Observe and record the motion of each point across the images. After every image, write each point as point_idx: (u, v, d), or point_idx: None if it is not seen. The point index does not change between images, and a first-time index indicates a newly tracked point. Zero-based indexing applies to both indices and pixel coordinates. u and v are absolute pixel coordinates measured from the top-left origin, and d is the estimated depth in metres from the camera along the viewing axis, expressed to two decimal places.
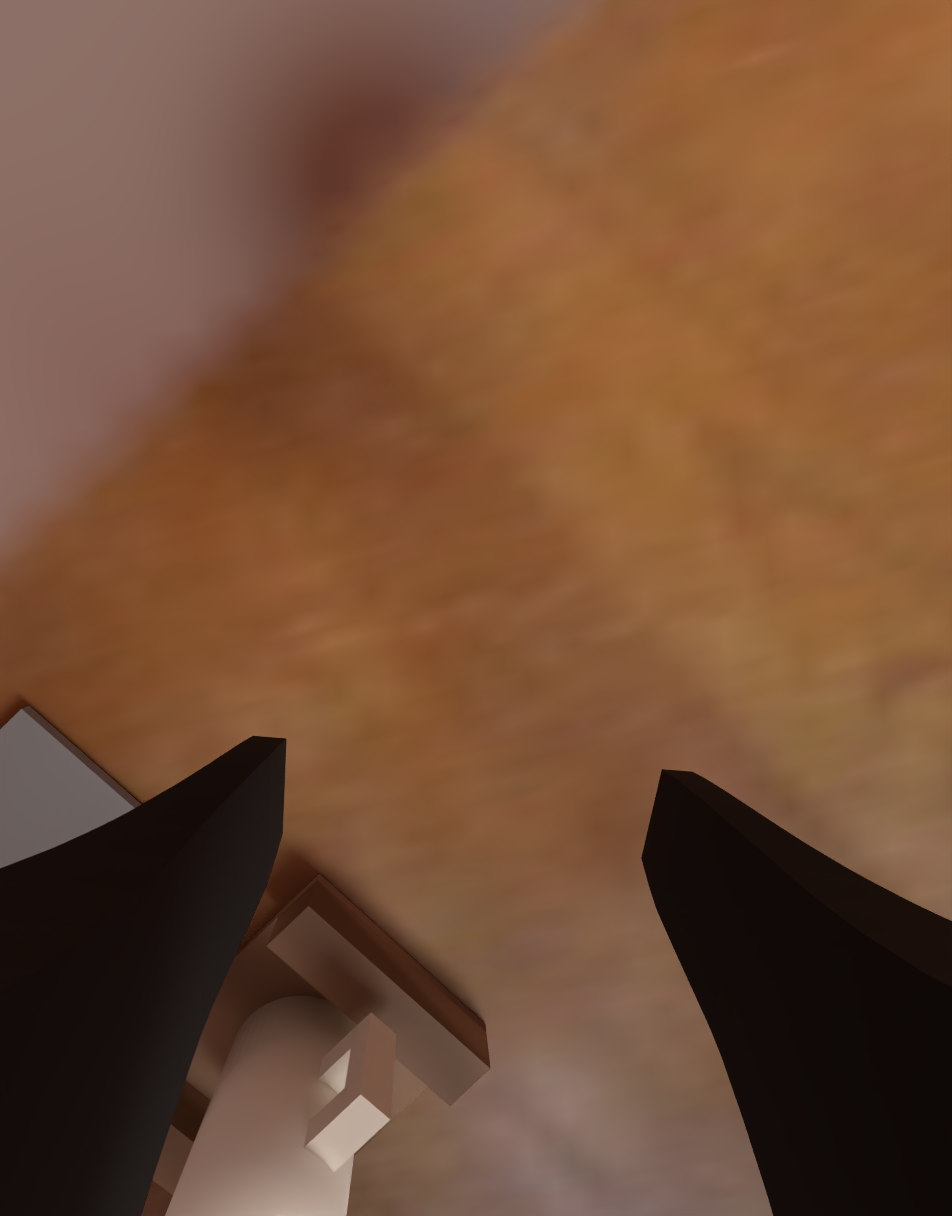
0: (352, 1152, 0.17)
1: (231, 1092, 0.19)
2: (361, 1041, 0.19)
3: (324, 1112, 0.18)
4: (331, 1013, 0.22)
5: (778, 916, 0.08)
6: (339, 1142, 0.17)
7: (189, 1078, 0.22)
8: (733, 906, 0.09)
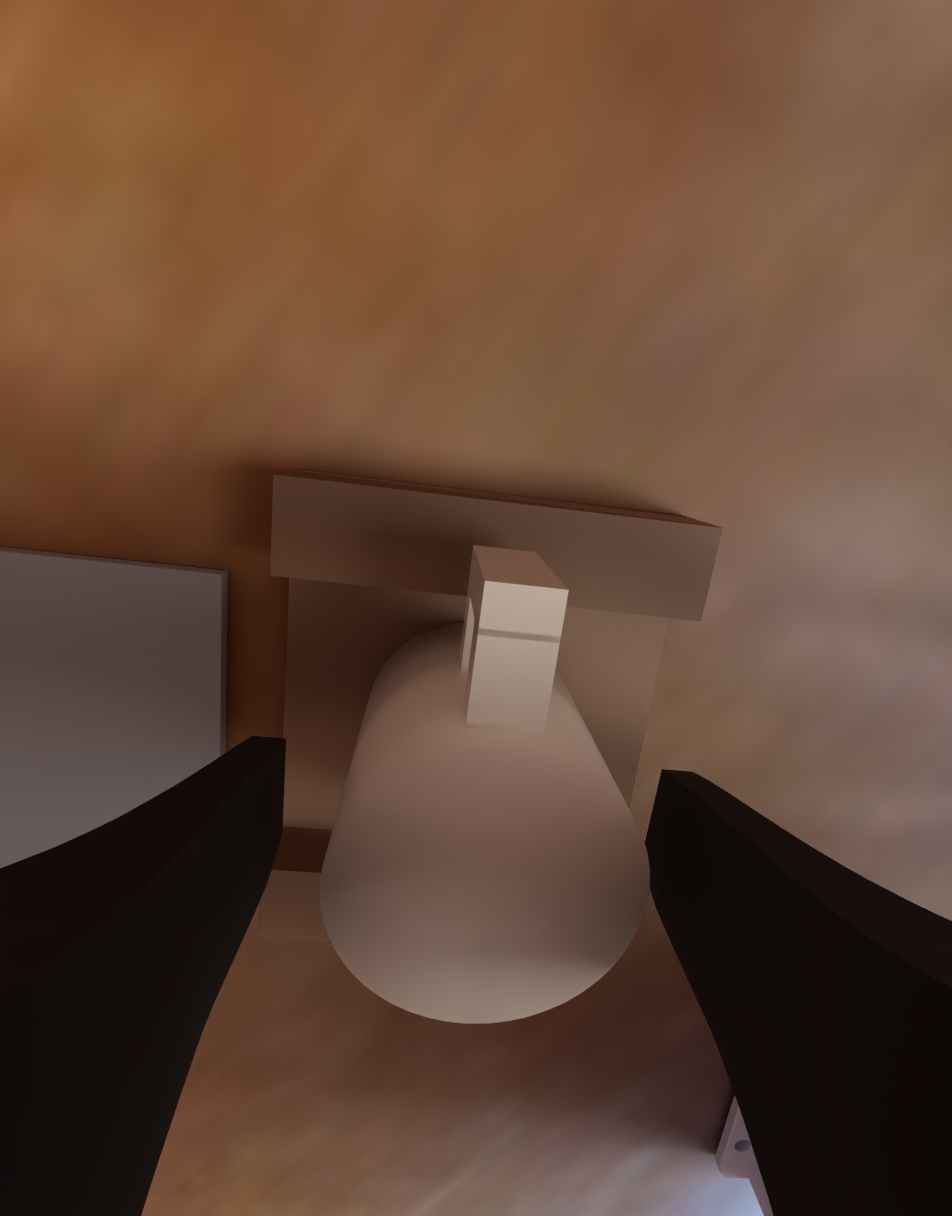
0: (548, 684, 0.09)
1: (351, 764, 0.11)
2: (474, 571, 0.10)
3: (468, 670, 0.09)
4: (456, 629, 0.14)
5: (778, 916, 0.08)
6: (514, 684, 0.09)
7: None
8: (733, 906, 0.09)
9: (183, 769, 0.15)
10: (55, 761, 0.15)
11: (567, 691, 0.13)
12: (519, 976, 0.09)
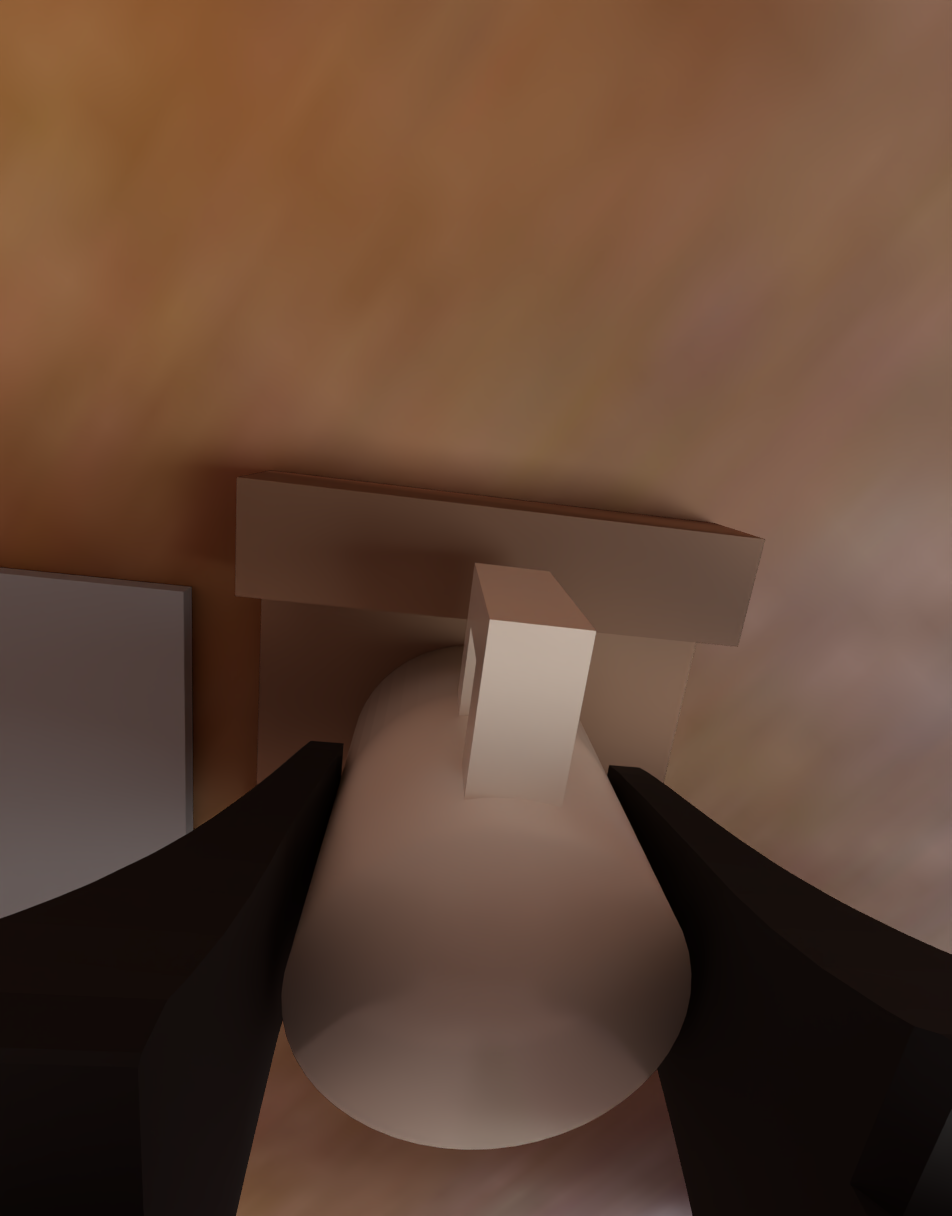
0: (568, 747, 0.07)
1: None
2: (476, 596, 0.09)
3: (469, 724, 0.08)
4: (454, 654, 0.12)
5: (702, 911, 0.08)
6: (526, 746, 0.07)
7: None
8: None
9: (143, 811, 0.13)
10: None
11: (583, 729, 0.11)
12: (528, 1096, 0.08)
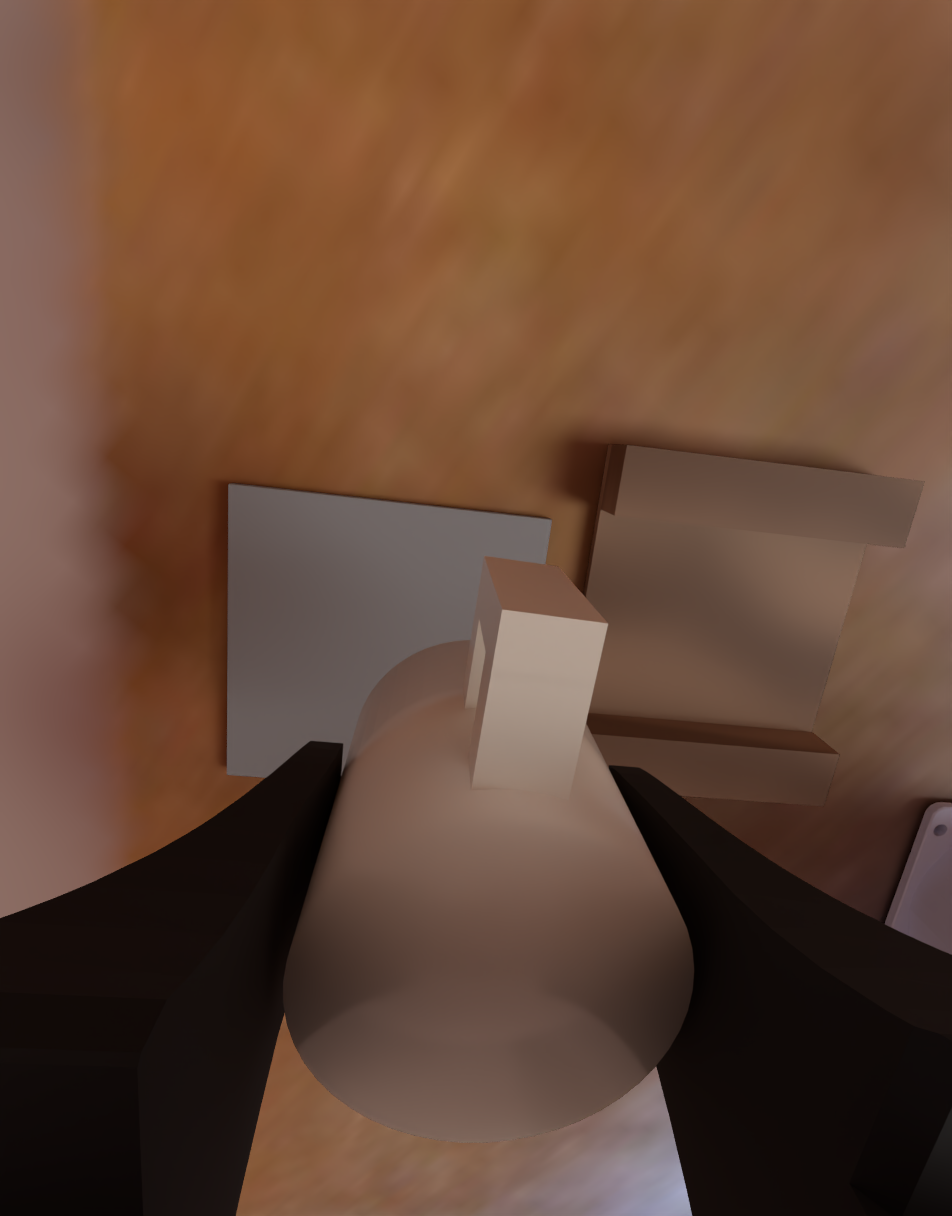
0: (576, 739, 0.07)
1: (330, 813, 0.09)
2: (485, 589, 0.09)
3: (477, 715, 0.08)
4: (459, 649, 0.12)
5: (702, 911, 0.08)
6: (534, 738, 0.07)
7: (627, 712, 0.21)
8: None
9: None
10: None
11: (586, 726, 0.11)
12: (527, 1090, 0.08)
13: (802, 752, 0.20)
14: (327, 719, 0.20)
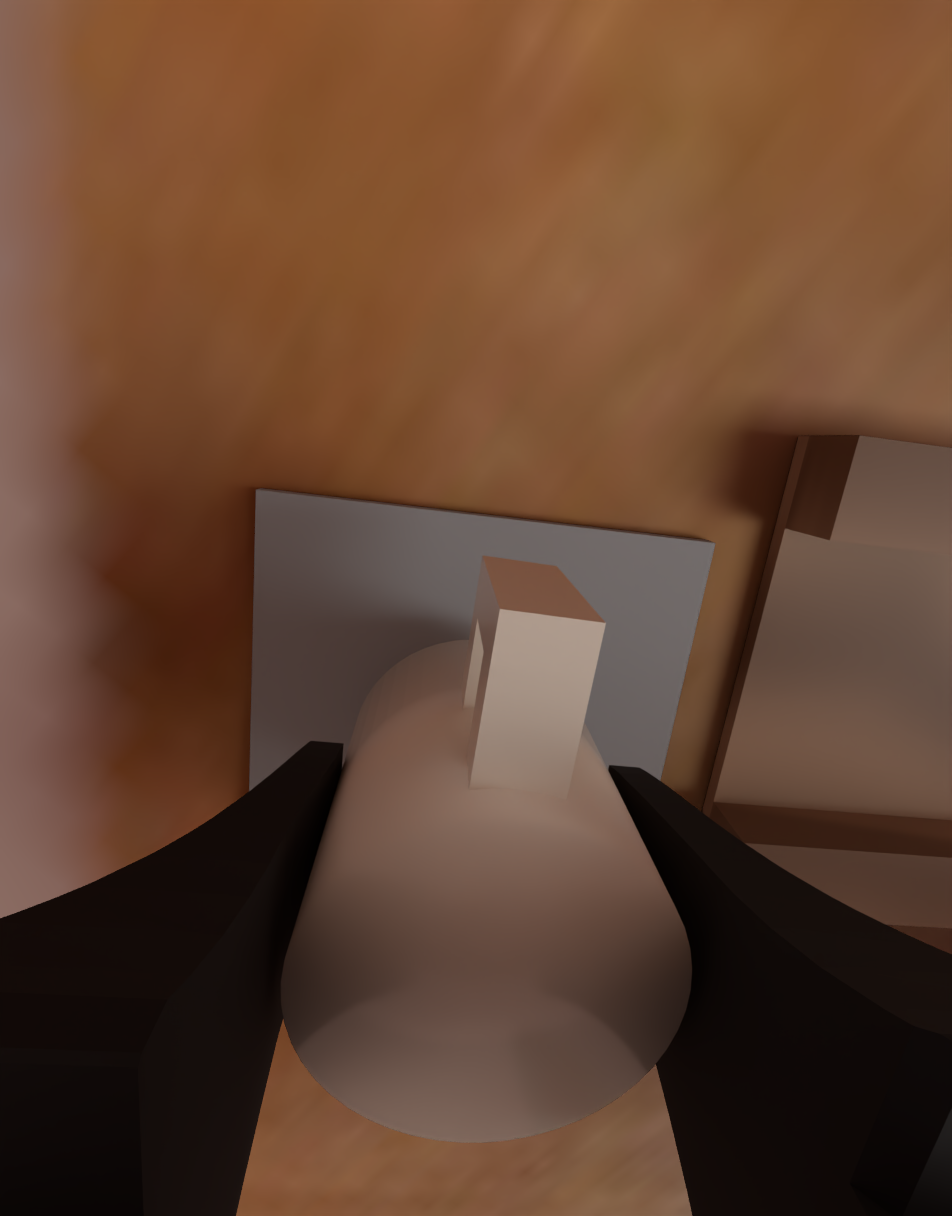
0: (574, 739, 0.07)
1: (329, 813, 0.09)
2: (483, 588, 0.09)
3: (475, 715, 0.08)
4: (458, 648, 0.12)
5: (702, 911, 0.08)
6: (533, 737, 0.07)
7: (795, 803, 0.15)
8: None
9: (633, 743, 0.15)
10: None
11: (585, 726, 0.11)
12: (525, 1090, 0.08)
13: None
14: None
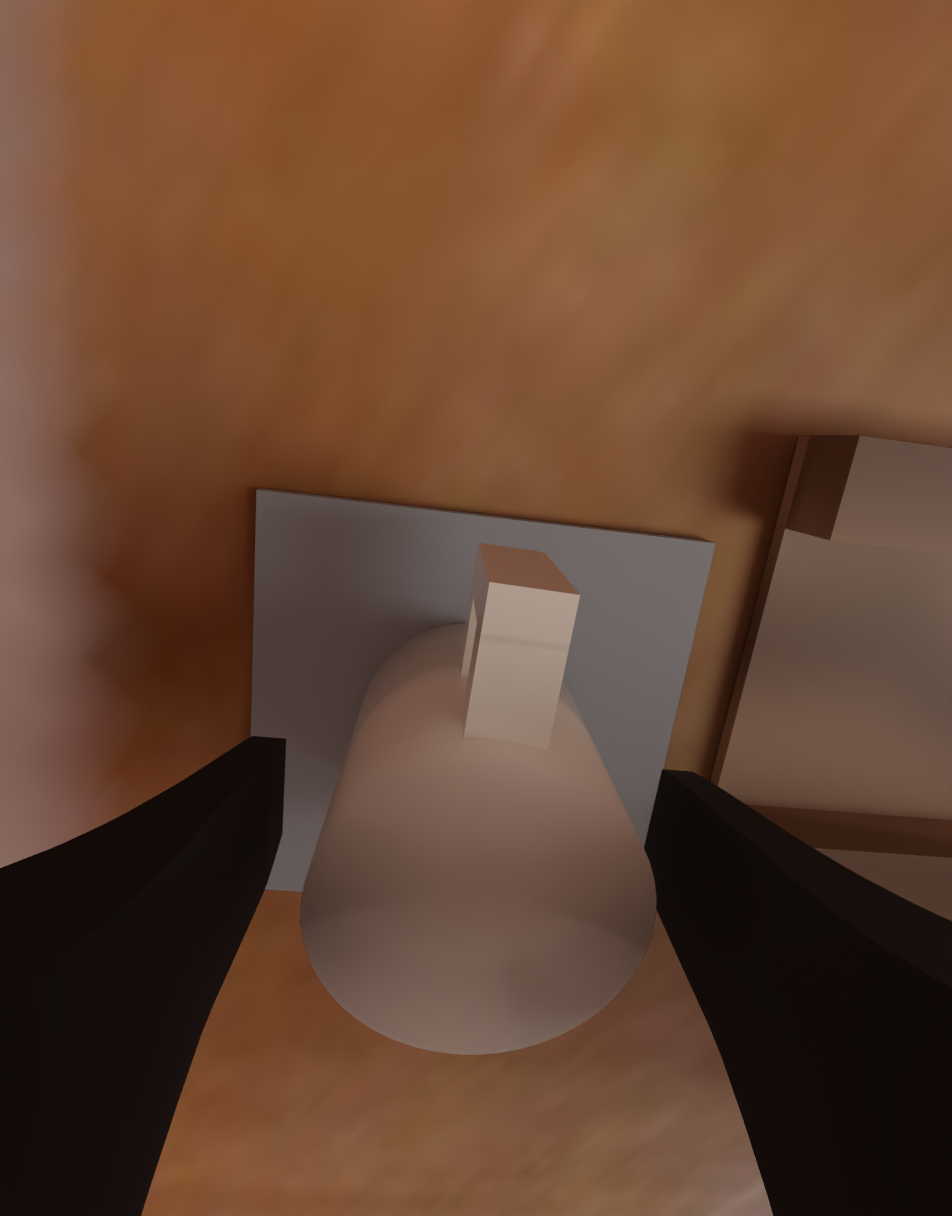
0: (554, 696, 0.08)
1: (341, 770, 0.10)
2: (478, 570, 0.10)
3: (469, 678, 0.09)
4: (458, 630, 0.13)
5: (778, 916, 0.08)
6: (518, 694, 0.08)
7: (796, 803, 0.15)
8: (733, 906, 0.09)
9: (634, 743, 0.15)
10: None
11: (572, 700, 0.12)
12: (511, 1006, 0.09)
13: None
14: None
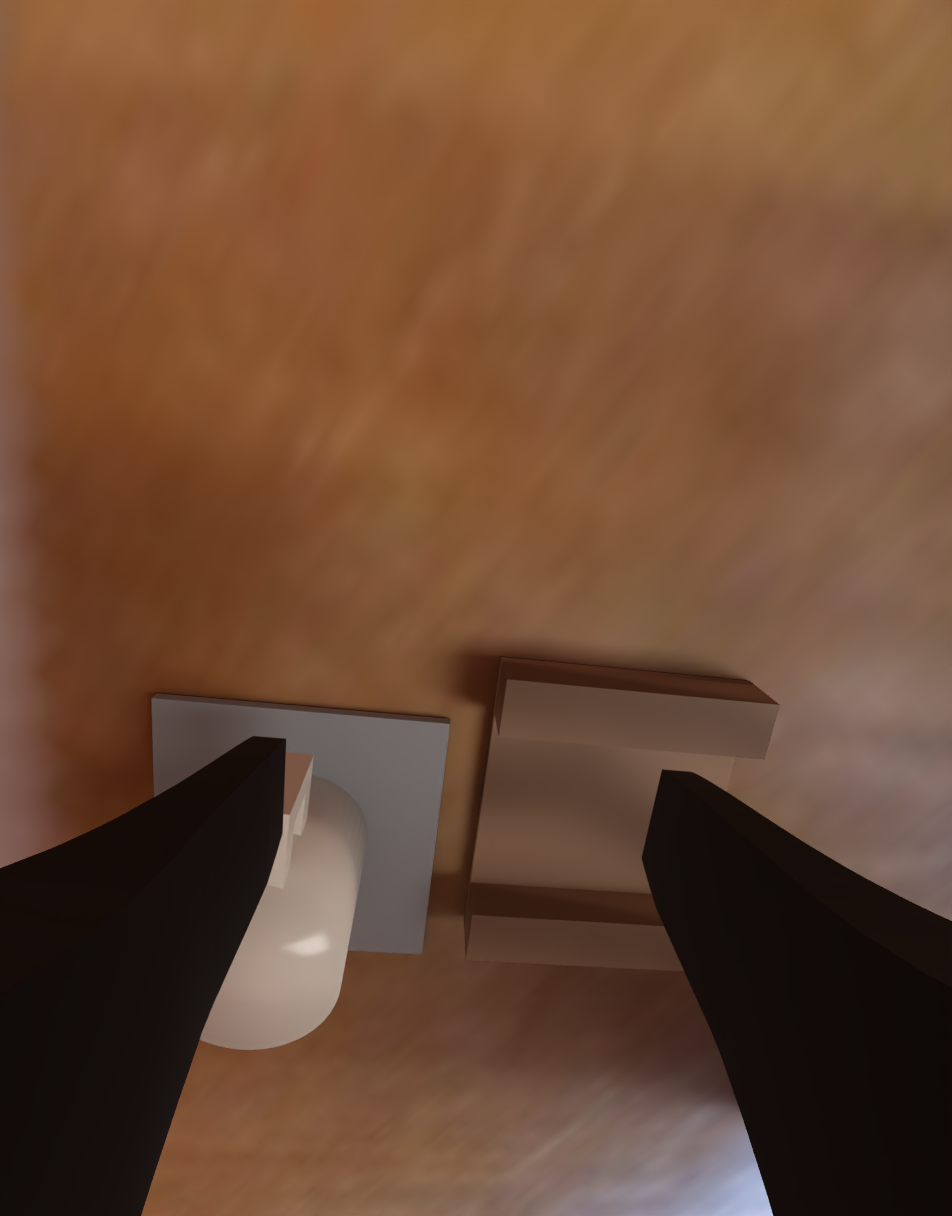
0: (282, 862, 0.16)
1: None
2: None
3: None
4: None
5: (778, 916, 0.08)
6: None
7: (526, 882, 0.23)
8: (733, 906, 0.09)
9: (411, 846, 0.22)
10: None
11: (347, 830, 0.20)
12: (269, 1023, 0.16)
13: None
14: None
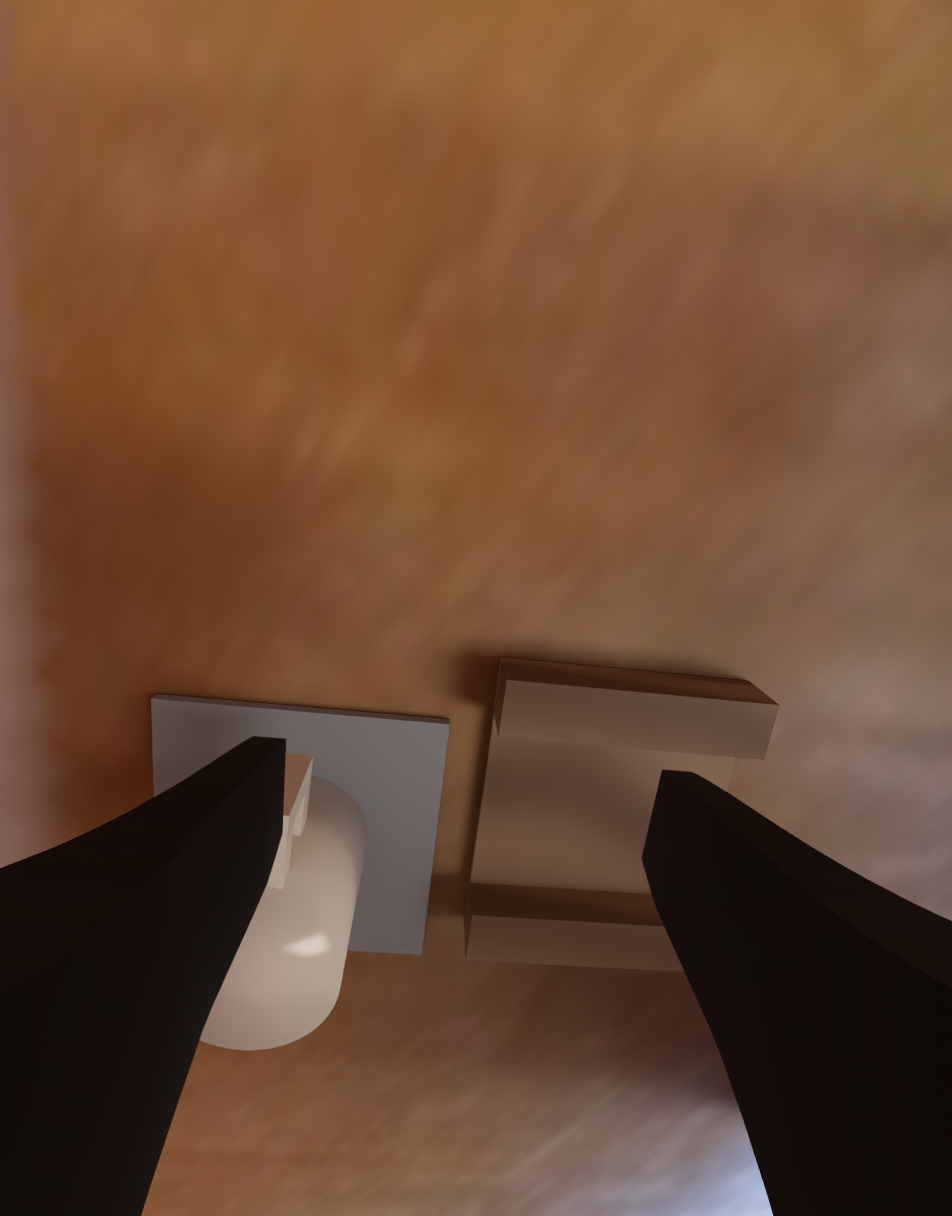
0: (281, 863, 0.16)
1: None
2: None
3: None
4: None
5: (778, 916, 0.08)
6: None
7: (526, 883, 0.23)
8: (733, 906, 0.09)
9: (410, 846, 0.22)
10: None
11: (347, 831, 0.20)
12: (268, 1024, 0.16)
13: None
14: None
